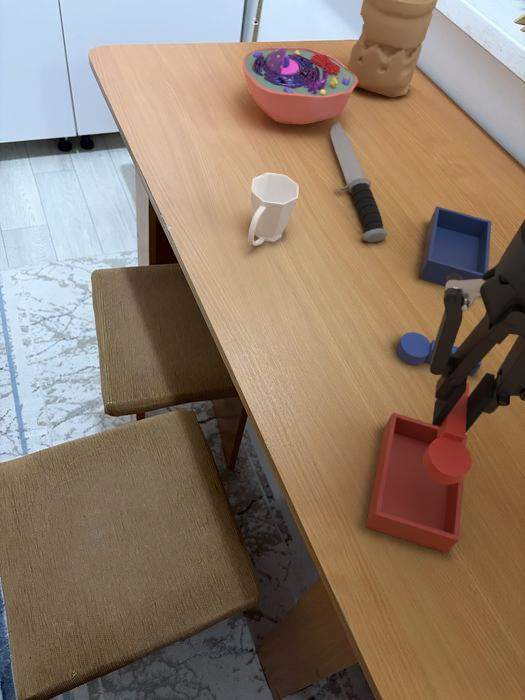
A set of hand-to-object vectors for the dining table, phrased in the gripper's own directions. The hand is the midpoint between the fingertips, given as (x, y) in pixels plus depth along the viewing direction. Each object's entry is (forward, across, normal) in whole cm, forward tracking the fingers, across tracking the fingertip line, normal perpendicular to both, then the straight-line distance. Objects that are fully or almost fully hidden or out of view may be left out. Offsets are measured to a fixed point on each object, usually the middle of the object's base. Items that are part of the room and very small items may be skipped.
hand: (449, 417), depth 57 cm
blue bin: (+11, +1, +36) cm, 38 cm away
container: (+11, -18, +80) cm, 83 cm away
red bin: (+11, 0, -2) cm, 11 cm away
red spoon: (0, 0, -2) cm, 2 cm away
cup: (+11, -26, +29) cm, 41 cm away
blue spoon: (+11, +1, +16) cm, 20 cm away
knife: (+11, -17, +48) cm, 52 cm away
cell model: (+11, -30, +63) cm, 71 cm away
